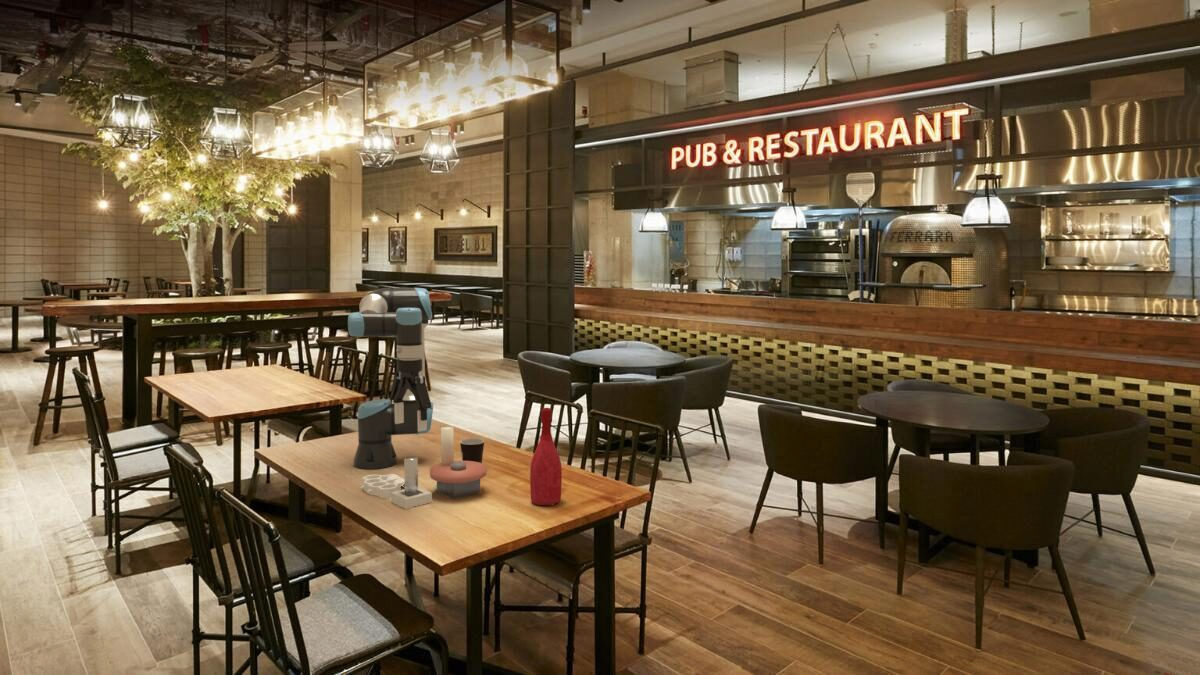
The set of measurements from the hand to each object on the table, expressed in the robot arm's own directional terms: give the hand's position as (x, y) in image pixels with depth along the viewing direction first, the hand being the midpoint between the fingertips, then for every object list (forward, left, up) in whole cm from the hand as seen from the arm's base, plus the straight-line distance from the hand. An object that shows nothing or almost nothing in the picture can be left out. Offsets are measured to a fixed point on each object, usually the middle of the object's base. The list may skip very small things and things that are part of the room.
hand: (410, 427), depth 221 cm
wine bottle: (+28, +31, -24) cm, 48 cm away
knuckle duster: (-17, 0, -25) cm, 30 cm away
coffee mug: (-18, +36, -24) cm, 47 cm away
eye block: (0, 0, -24) cm, 24 cm away
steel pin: (0, 0, -24) cm, 24 cm away
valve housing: (+2, +16, -24) cm, 29 cm away
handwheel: (+2, +16, -18) cm, 24 cm away
